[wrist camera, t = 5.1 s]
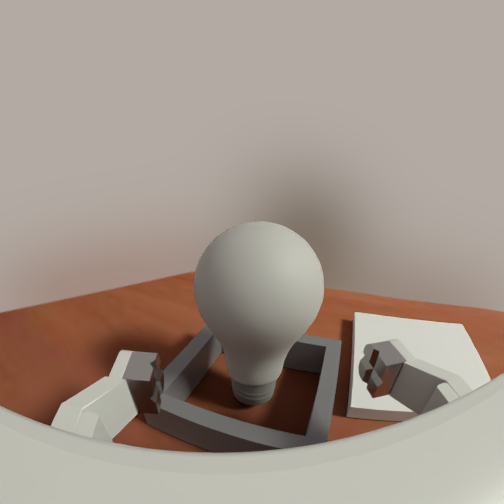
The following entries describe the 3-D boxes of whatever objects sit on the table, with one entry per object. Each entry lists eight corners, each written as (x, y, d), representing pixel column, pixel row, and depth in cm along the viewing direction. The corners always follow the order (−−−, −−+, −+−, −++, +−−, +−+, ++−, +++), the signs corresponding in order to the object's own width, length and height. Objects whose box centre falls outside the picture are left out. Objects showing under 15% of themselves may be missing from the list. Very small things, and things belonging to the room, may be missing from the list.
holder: (147, 424, 13) (137, 397, 12) (215, 341, 21) (214, 315, 20) (312, 477, 10) (323, 456, 9) (334, 367, 18) (341, 340, 18)
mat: (346, 416, 14) (350, 406, 13) (352, 320, 25) (354, 311, 24) (495, 417, 10) (502, 407, 10) (458, 332, 21) (462, 324, 21)
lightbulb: (318, 393, 16) (351, 225, 13) (259, 454, 11) (279, 254, 8) (247, 357, 20) (253, 207, 16) (183, 398, 15) (164, 222, 12)
